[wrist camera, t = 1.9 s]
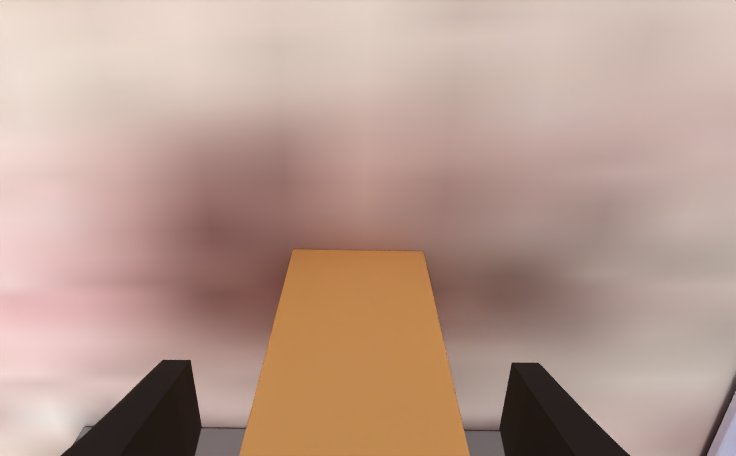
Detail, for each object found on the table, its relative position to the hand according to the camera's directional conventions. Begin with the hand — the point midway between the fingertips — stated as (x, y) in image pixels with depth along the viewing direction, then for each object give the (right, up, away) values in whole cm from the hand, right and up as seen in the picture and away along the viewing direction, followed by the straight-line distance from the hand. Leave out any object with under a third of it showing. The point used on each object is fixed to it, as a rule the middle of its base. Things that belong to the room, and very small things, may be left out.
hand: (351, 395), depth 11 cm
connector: (0, +2, +3) cm, 4 cm away
